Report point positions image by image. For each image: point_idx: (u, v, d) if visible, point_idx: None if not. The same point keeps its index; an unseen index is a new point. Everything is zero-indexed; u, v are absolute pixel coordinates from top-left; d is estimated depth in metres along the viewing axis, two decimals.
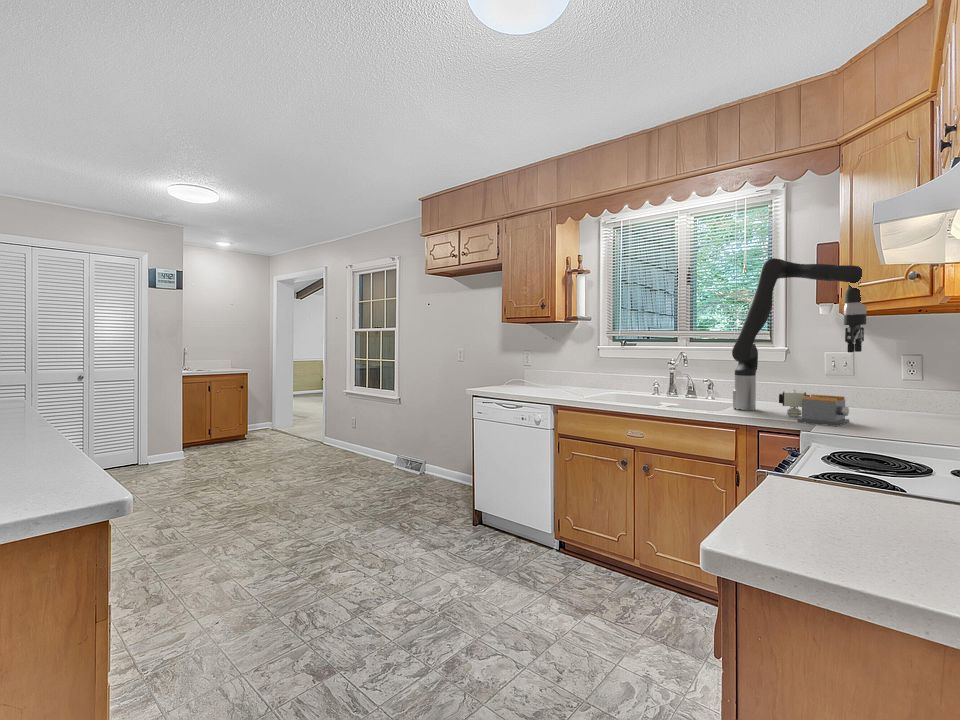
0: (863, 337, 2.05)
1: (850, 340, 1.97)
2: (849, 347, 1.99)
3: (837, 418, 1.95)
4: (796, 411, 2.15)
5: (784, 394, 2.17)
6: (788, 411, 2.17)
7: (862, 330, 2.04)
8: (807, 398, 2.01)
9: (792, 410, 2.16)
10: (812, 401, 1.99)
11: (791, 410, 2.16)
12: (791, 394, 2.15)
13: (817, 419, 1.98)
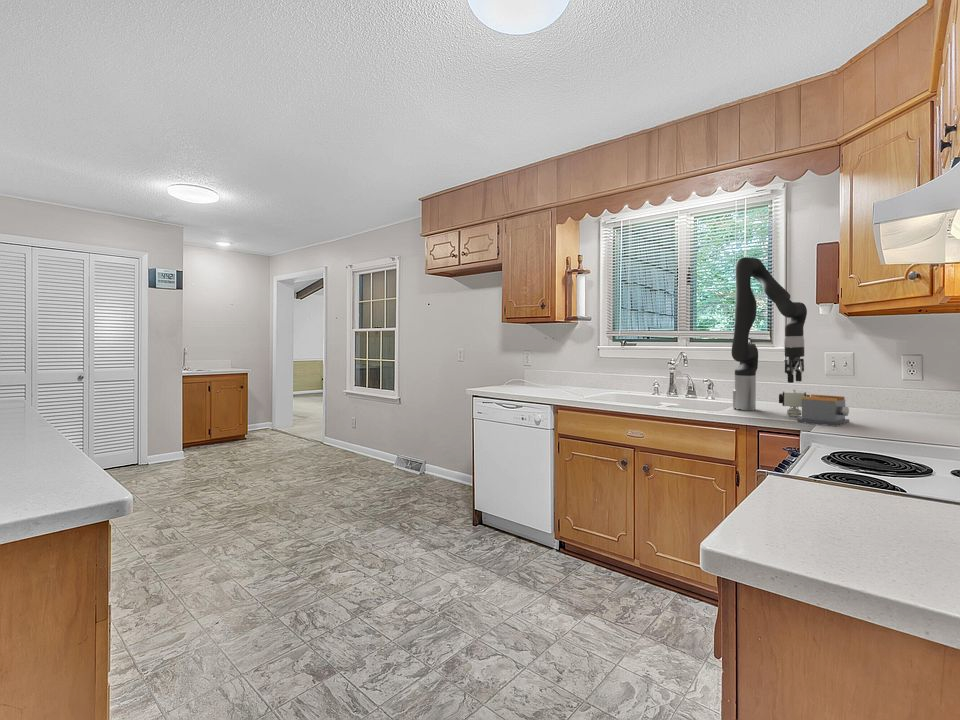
0: (803, 368, 2.19)
1: (789, 371, 2.12)
2: (789, 378, 2.14)
3: (837, 418, 1.95)
4: (796, 411, 2.15)
5: (784, 394, 2.17)
6: (788, 411, 2.17)
7: (802, 361, 2.19)
8: (807, 398, 2.01)
9: (792, 410, 2.16)
10: (812, 401, 1.99)
11: (791, 410, 2.16)
12: (791, 394, 2.15)
13: (817, 419, 1.98)
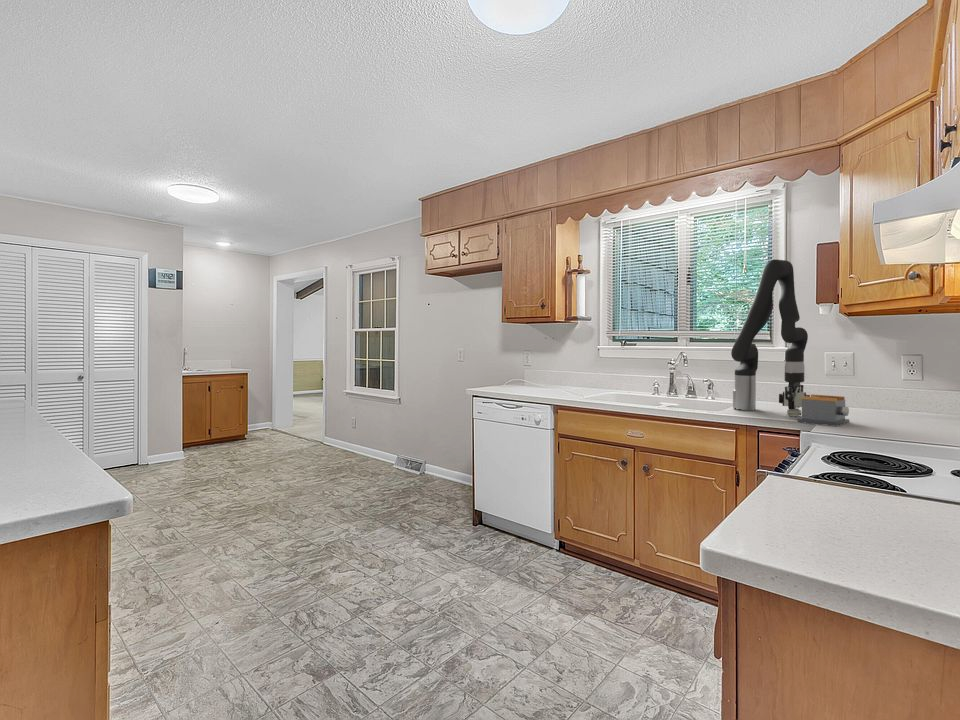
0: None
1: (790, 398, 2.13)
2: (789, 404, 2.15)
3: (837, 418, 1.95)
4: (796, 411, 2.15)
5: (784, 394, 2.17)
6: (788, 411, 2.17)
7: (802, 387, 2.19)
8: (807, 398, 2.01)
9: (792, 410, 2.16)
10: (812, 401, 1.99)
11: (791, 410, 2.16)
12: None
13: (817, 419, 1.98)
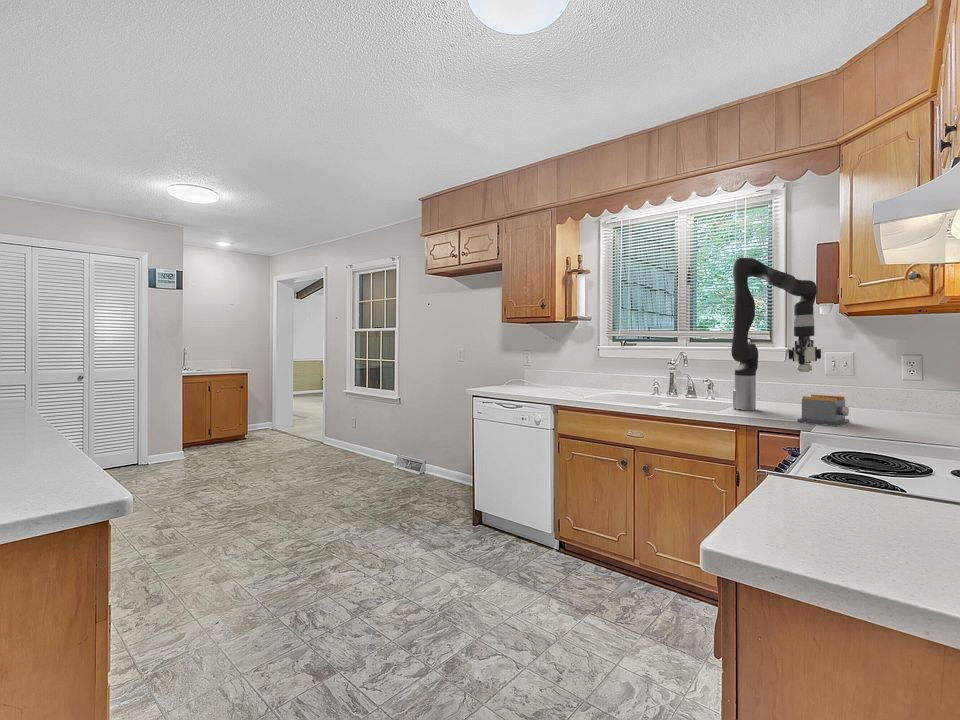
0: None
1: (800, 352, 2.07)
2: (800, 359, 2.08)
3: (837, 418, 1.95)
4: (807, 366, 2.09)
5: (794, 349, 2.10)
6: (798, 367, 2.11)
7: (812, 342, 2.13)
8: (807, 398, 2.01)
9: (802, 365, 2.09)
10: (812, 401, 1.99)
11: (801, 365, 2.10)
12: None
13: (817, 419, 1.98)
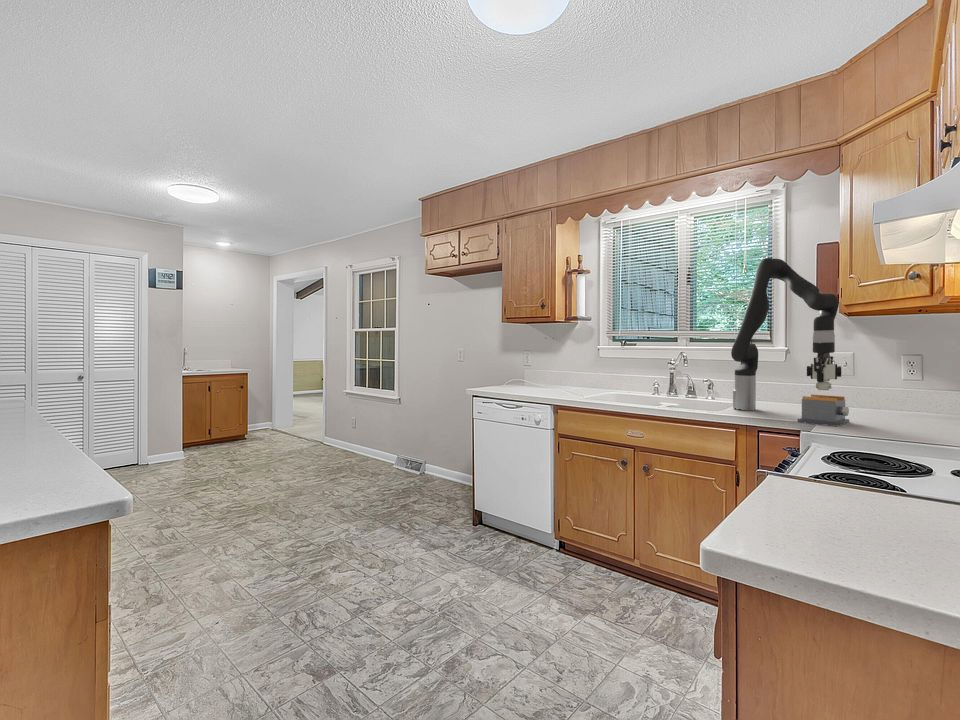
0: None
1: (819, 370, 1.96)
2: (818, 377, 1.98)
3: (837, 418, 1.95)
4: (826, 384, 1.99)
5: (813, 366, 2.00)
6: (817, 384, 2.01)
7: (831, 359, 2.03)
8: (807, 398, 2.01)
9: (821, 383, 1.99)
10: (812, 401, 1.99)
11: (820, 383, 2.00)
12: None
13: (817, 419, 1.98)
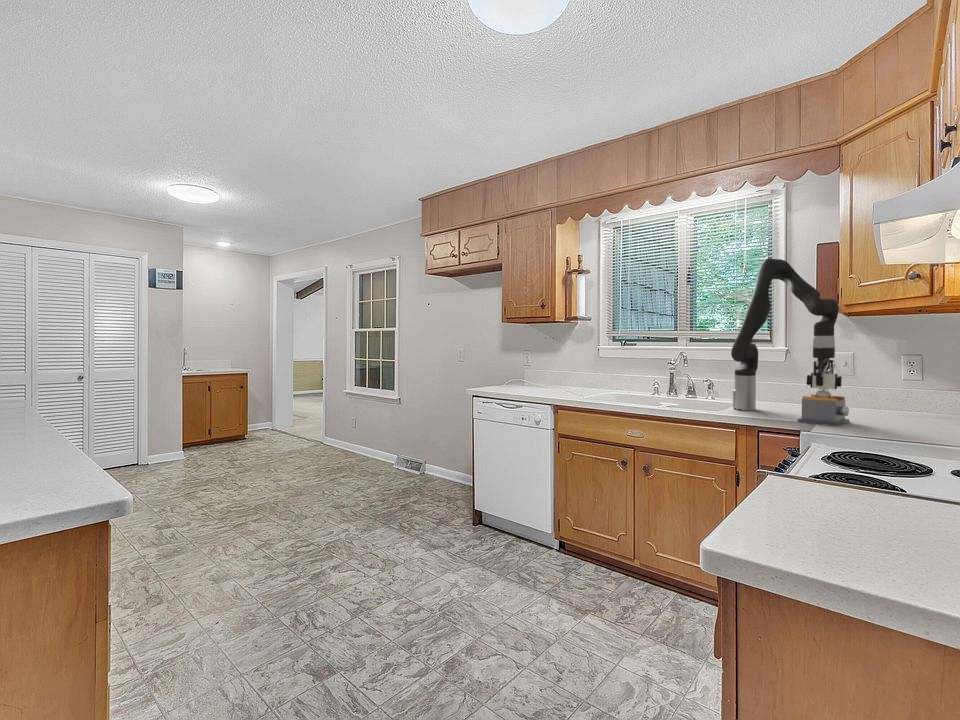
0: (832, 370, 2.03)
1: (818, 374, 1.96)
2: (817, 381, 1.98)
3: (837, 418, 1.95)
4: (825, 393, 1.99)
5: (813, 375, 2.01)
6: (816, 393, 2.01)
7: (831, 363, 2.03)
8: (807, 398, 2.01)
9: (821, 392, 2.00)
10: (812, 401, 1.99)
11: (820, 392, 2.00)
12: None
13: (817, 419, 1.98)
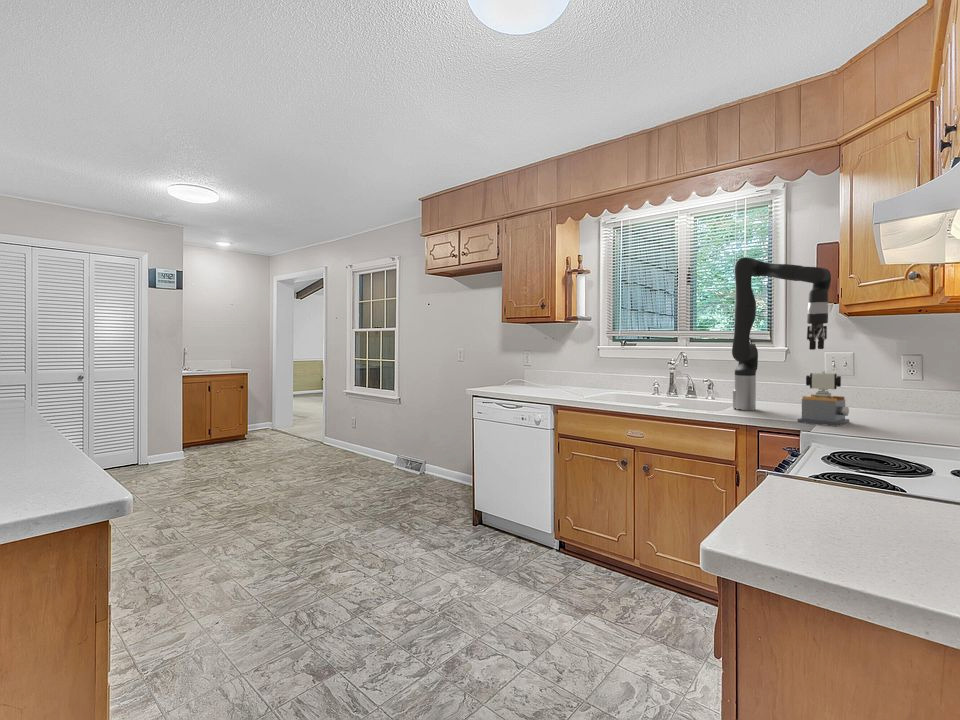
0: (826, 335, 2.15)
1: (811, 338, 2.08)
2: (811, 344, 2.10)
3: (837, 418, 1.95)
4: (825, 394, 1.99)
5: (812, 375, 2.01)
6: (816, 394, 2.01)
7: (825, 328, 2.15)
8: (807, 398, 2.01)
9: (821, 393, 2.00)
10: (812, 401, 1.99)
11: (820, 393, 2.00)
12: (820, 375, 1.99)
13: (817, 419, 1.98)
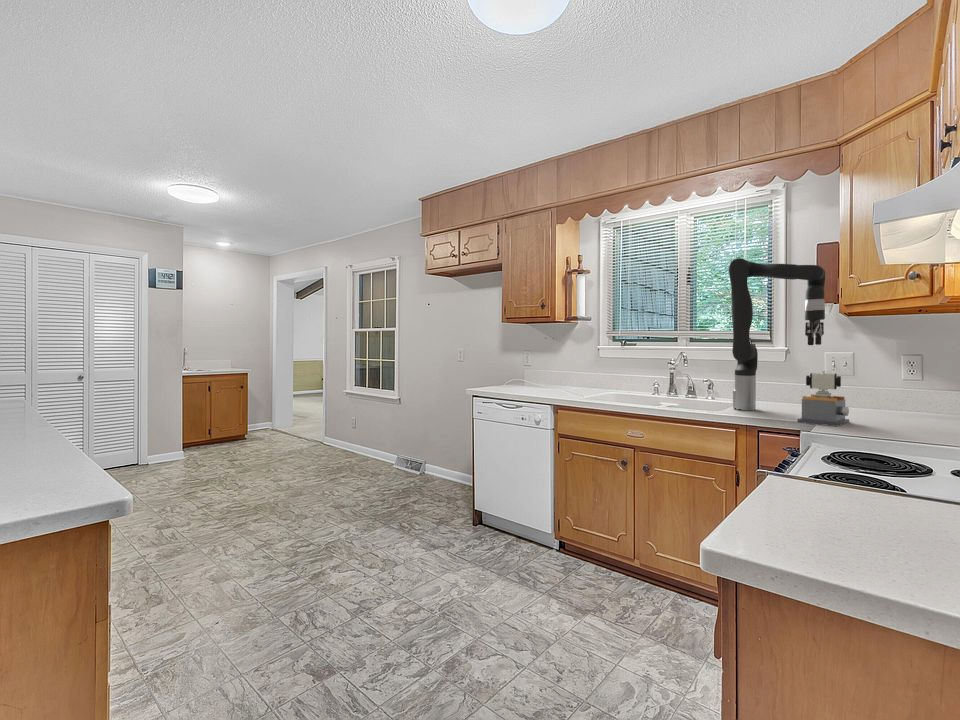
0: (823, 331, 2.22)
1: (809, 334, 2.14)
2: (809, 340, 2.16)
3: (837, 418, 1.95)
4: (825, 394, 1.99)
5: (812, 375, 2.01)
6: (816, 394, 2.01)
7: (822, 325, 2.21)
8: (807, 398, 2.01)
9: (821, 393, 2.00)
10: (812, 401, 1.99)
11: (820, 393, 2.00)
12: (820, 375, 1.99)
13: (817, 419, 1.98)
